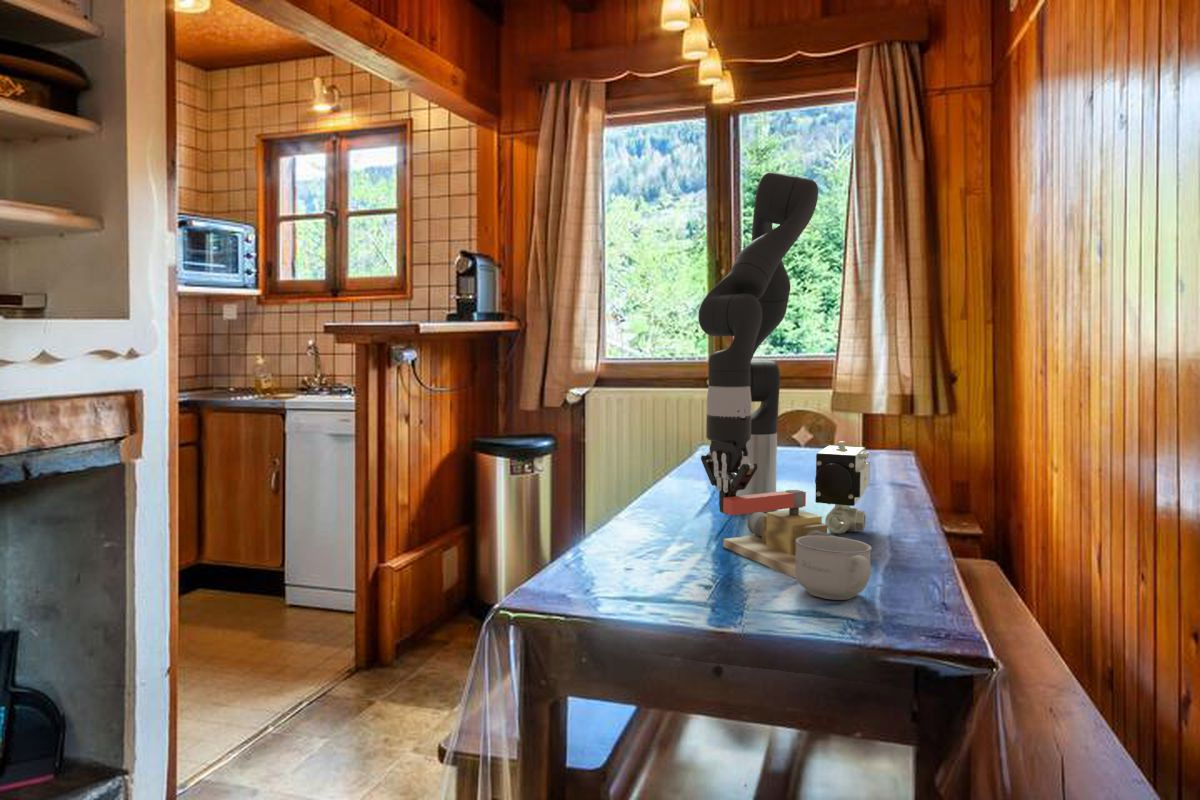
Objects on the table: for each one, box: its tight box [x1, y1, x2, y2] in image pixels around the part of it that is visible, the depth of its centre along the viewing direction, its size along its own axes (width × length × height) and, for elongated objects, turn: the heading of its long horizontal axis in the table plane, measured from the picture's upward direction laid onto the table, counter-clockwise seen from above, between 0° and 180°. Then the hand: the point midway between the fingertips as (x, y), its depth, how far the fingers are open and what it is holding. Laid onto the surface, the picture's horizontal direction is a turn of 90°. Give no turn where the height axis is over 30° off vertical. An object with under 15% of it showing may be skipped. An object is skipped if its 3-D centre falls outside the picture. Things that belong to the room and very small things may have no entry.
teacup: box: [795, 535, 873, 601], centre depth 114 cm, size 14×11×8 cm
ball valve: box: [814, 440, 871, 535], centre depth 154 cm, size 18×8×18 cm, turn 154°
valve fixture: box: [722, 508, 837, 579], centre depth 136 cm, size 21×15×9 cm
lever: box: [723, 489, 807, 516], centre depth 132 cm, size 16×3×2 cm, turn 116°
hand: (727, 512), depth 134 cm, fingers closed
